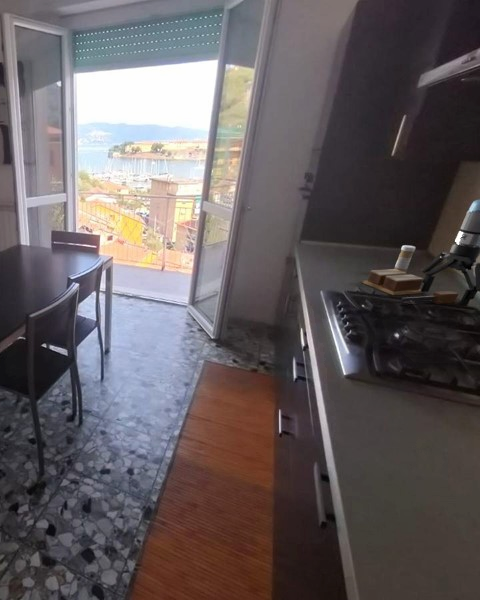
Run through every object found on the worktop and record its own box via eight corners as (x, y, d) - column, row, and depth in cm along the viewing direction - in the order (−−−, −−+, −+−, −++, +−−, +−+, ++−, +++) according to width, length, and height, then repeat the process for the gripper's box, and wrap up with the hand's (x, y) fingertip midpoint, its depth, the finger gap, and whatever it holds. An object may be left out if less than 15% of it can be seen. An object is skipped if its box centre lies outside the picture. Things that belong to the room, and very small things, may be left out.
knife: (447, 300, 138) (452, 290, 136) (454, 302, 135) (459, 293, 134) (396, 304, 134) (400, 294, 133) (402, 306, 132) (406, 296, 131)
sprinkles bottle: (395, 272, 168) (406, 244, 162) (406, 275, 164) (418, 246, 159) (390, 273, 166) (400, 245, 161) (401, 276, 162) (412, 248, 157)
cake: (422, 293, 144) (428, 279, 142) (392, 295, 142) (398, 281, 140) (390, 281, 157) (395, 268, 155) (362, 282, 155) (367, 269, 153)
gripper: (423, 236, 137) (402, 286, 146) (502, 255, 115) (471, 313, 124) (440, 235, 139) (418, 285, 147) (521, 254, 116) (489, 312, 125)
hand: (442, 298), depth 136 cm, fingers open, 13 cm apart
